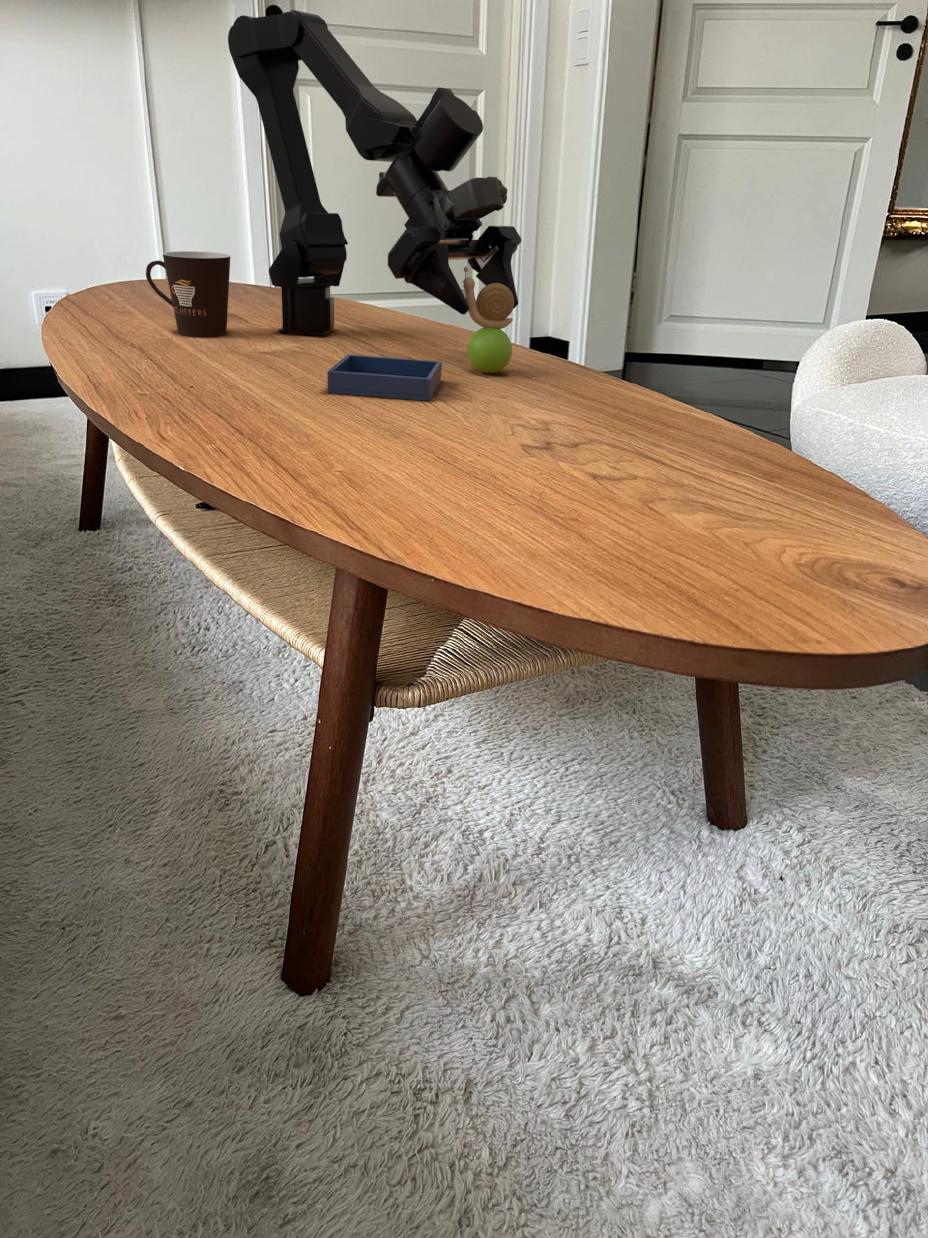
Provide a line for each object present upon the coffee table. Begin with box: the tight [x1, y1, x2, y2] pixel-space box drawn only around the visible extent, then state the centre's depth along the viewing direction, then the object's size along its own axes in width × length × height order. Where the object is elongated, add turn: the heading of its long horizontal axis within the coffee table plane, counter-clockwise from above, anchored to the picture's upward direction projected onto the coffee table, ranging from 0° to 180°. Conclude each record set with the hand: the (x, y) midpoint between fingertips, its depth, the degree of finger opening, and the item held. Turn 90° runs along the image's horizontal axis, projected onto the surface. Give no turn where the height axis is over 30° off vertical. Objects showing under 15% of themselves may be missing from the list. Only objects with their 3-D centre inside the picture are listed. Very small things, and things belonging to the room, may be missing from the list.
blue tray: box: [326, 353, 443, 402], centre depth 100 cm, size 11×10×2 cm
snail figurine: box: [462, 266, 515, 374], centre depth 108 cm, size 5×6×12 cm
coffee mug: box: [145, 250, 231, 338], centre depth 122 cm, size 12×9×10 cm
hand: (491, 309), depth 107 cm, fingers open, 9 cm apart
